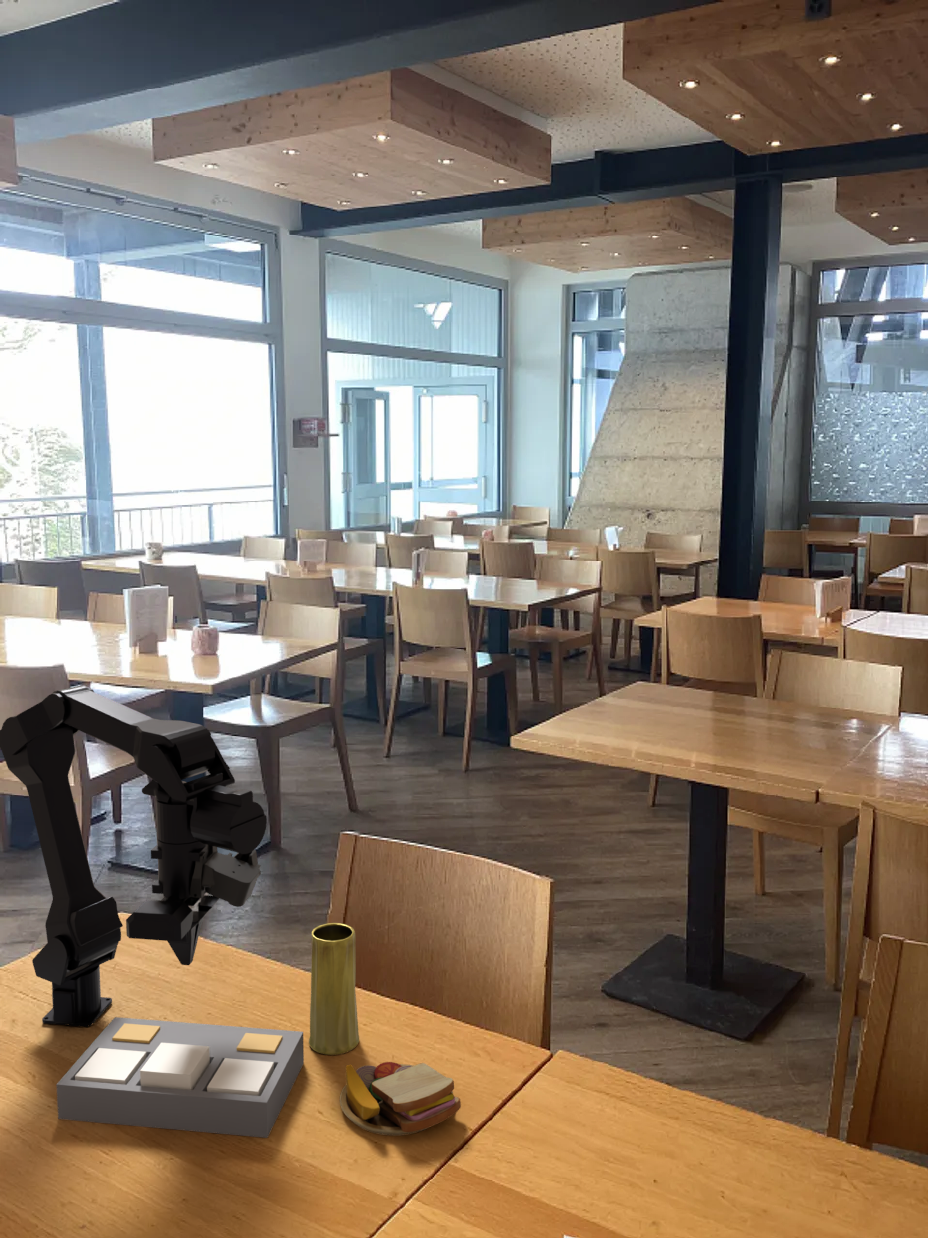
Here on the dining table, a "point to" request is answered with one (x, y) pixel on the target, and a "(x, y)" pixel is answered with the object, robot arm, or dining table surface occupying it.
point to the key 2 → (241, 1077)
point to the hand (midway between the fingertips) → (186, 963)
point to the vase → (333, 990)
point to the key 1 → (111, 1066)
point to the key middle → (175, 1066)
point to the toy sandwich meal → (397, 1098)
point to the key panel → (186, 1105)
